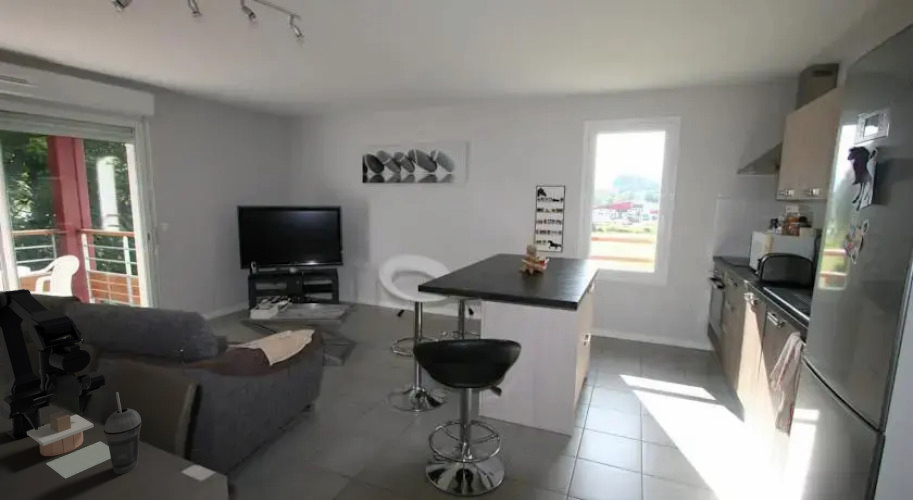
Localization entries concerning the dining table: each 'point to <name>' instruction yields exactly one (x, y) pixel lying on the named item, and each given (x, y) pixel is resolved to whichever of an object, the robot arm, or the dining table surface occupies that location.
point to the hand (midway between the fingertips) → (60, 421)
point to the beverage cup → (123, 438)
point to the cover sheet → (54, 436)
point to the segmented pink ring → (62, 445)
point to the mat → (81, 459)
